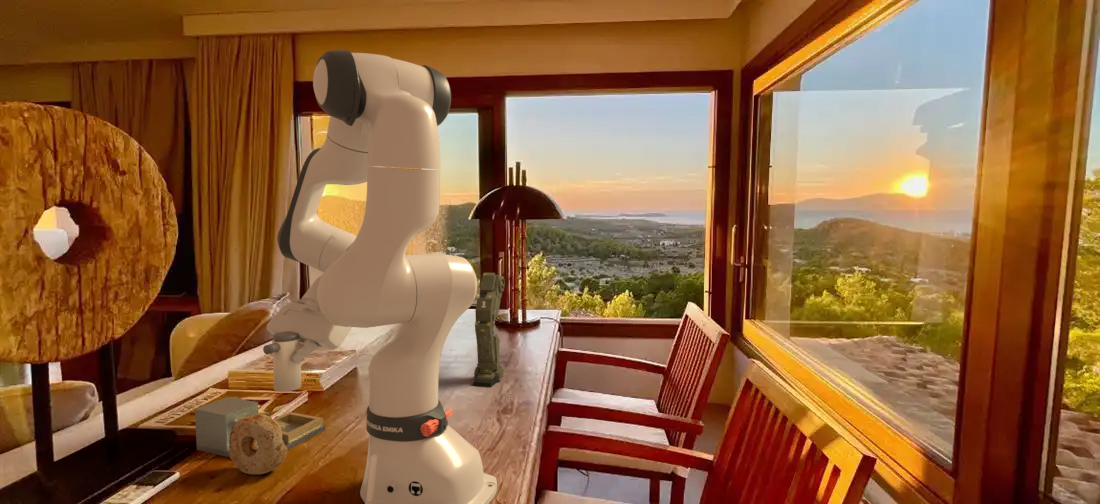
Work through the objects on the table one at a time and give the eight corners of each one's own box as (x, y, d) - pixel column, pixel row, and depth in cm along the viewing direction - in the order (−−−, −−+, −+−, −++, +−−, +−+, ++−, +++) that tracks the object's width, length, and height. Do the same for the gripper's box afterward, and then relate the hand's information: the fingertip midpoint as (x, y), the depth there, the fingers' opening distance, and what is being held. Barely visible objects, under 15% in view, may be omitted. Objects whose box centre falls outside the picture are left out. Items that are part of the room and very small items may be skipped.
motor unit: (325, 429, 112) (324, 392, 111) (259, 464, 97) (258, 421, 96) (267, 418, 118) (265, 383, 117) (196, 449, 103) (194, 409, 102)
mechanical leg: (490, 389, 135) (499, 270, 140) (463, 386, 137) (472, 269, 141) (505, 384, 149) (512, 276, 153) (480, 382, 150) (488, 275, 154)
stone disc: (224, 473, 94) (222, 417, 93) (241, 463, 98) (239, 410, 97) (274, 481, 91) (272, 424, 90) (290, 471, 95) (288, 416, 94)
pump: (306, 385, 110) (305, 332, 109) (278, 396, 104) (276, 341, 102) (288, 381, 112) (286, 330, 111) (258, 393, 105) (256, 338, 104)
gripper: (284, 289, 118) (242, 343, 111) (347, 299, 108) (305, 359, 101) (303, 306, 122) (264, 358, 115) (365, 317, 112) (326, 375, 105)
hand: (284, 359), depth 108 cm, fingers closed on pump, 5 cm apart
